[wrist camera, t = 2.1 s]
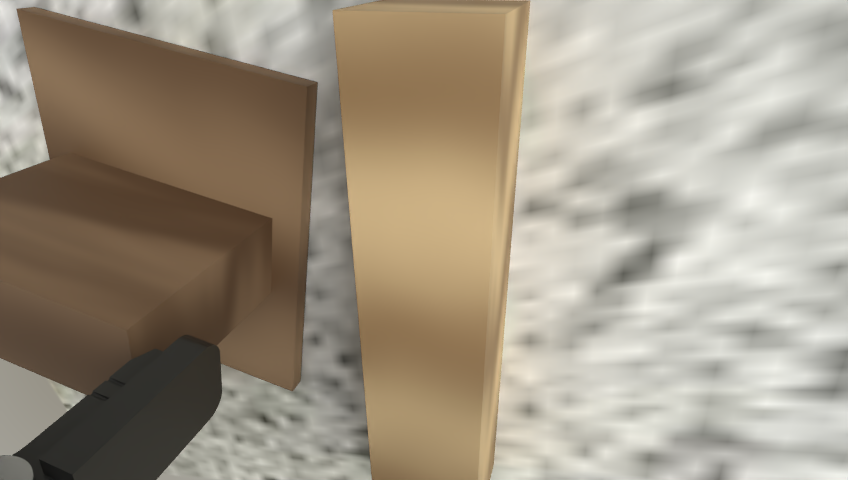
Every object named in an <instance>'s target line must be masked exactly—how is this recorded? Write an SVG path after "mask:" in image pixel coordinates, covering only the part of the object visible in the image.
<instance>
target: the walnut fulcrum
mask: <svg viewBox="0 0 848 480" xmlns="http://www.w3.org/2000/svg"><path fill="white" fill-rule="evenodd" d="M17 13H18V18H19V22H20V27H21V31H22V36H23V40H24V45H25V49H26V54H27V58H28V63H29V67H30V72H31V76H32V81H33V85H34V90H35V94H36V99H37V103H38V108H39V112H40V117H41V121H42V126H43V130H44V135H45V139H46V144H47V148H48V153H49V157H50V160H48V161H45V162H43V163H40V164H37V165H34V166H32V167H29V168H26V169H23V170H21V171H18V172H15V173H12V174H10V175H7V176H4V177H1V178H0V358H1V359H4V360H6V361H9V362H11V363H13V364H16V365H18V366H20V367H22V368H25V369H27V370H30V371H32V372H35V373H37V374H39V375H41V376H44V377H46V378H48V379H51V380H53V381H55V382H58V383H60V384H62V385H65V386H67V387H69V388H72V389H74V390H76V391H79V392H81V393H83V394H86V395H88V394H89V395H91V394H92V392H93V390H94V389H96V388H97V387H98V386H99V385H100V384H102V383H103V382H104V381H105V380H106V381H108V380H109V378H110V376H111V375H113V374H114V373H115V372H116V371H117V370H119V369H120V368H121V367H122V366H124V365H125V364H126V363H127V362H128V361H130V360H131V359H134V358H136V357H138V356H140V355H142V354H145V353H147V352H149V351H151V350H153V349H158V350H160V351H164V350H165V349H167V348H168V347H169V346H170V345H171V344H172V343H173V342H175V341H176V340H177V339H178V338H180V337H181V336H184V335H191V336H193V337H196V338H198V339H201V340H203V341H206V342H209V343H211V344H214V345H216V346H218V347H219V350H220V362H221V364H224V365H226V366H229V367H231V368H234V369H237V370H239V371H242V372H244V373H247V374H249V375H252V376H254V377H257V378H260V379H262V380H265V381H267V382H270V383H272V384H275V385H277V386H280V387H283V388H285V389H288V390H290V391H293V390H294V389H295V388H296V386H297V385H298V384H299V382H300V379H301V362H302V344H303V327H304V309H305V292H306V274H307V257H308V240H309V222H310V205H311V187H312V170H313V152H314V135H315V117H316V100H317V83H318V82H314V81H310V80H307V79H303V78H299V77H295V76H292V75H288V74H284V73H280V72H277V71H273V70H269V69H265V68H262V67H258V66H254V65H250V64H247V63H243V62H239V61H235V60H231V59H228V58H224V57H220V56H216V55H213V54H209V53H205V52H201V51H198V50H194V49H190V48H186V47H183V46H179V45H175V44H171V43H168V42H164V41H160V40H156V39H152V38H149V37H145V36H141V35H137V34H134V33H130V32H126V31H122V30H119V29H115V28H111V27H107V26H104V25H100V24H96V23H92V22H89V21H85V20H81V19H77V18H73V17H70V16H66V15H62V14H58V13H55V12H51V11H47V10H43V9H40V8H36V7H31V8H20V9H17Z"/></svg>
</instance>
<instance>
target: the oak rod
mask: <svg viewBox="0 0 848 480" xmlns="http://www.w3.org/2000/svg"><path fill="white" fill-rule="evenodd" d="M529 9H530V1H528V0H380V1H375V2H371V3H366V4H361V5H356V6H351V7H346V8H342V9H337V10H333V21H334V33H335V45H336V57H337V69H338V81H339V93H340V105H341V117H342V129H343V140H344V152H345V164H346V176H347V188H348V200H349V212H350V224H351V236H352V248H353V260H354V272H355V284H356V295H357V307H358V319H359V331H360V343H361V355H362V367H363V379H364V391H365V403H366V415H367V427H368V438H369V450H370V462H371V474H372V480H490V477H491V473H492V469H493V465H494V452H495V440H496V427H497V414H498V402H499V389H500V377H501V364H502V351H503V339H504V326H505V313H506V301H507V288H508V275H509V263H510V250H511V237H512V225H513V212H514V199H515V187H516V174H517V161H518V149H519V136H520V123H521V111H522V98H523V85H524V73H525V60H526V47H527V35H528V22H529Z"/></svg>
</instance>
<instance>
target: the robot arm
mask: <svg viewBox="0 0 848 480" xmlns="http://www.w3.org/2000/svg"><path fill="white" fill-rule="evenodd" d="M221 395H222V382H221V362H220V350H219V347H218V346H216V345H214V344H211V343H209V342H206V341H203V340H201V339H198V338H196V337H193V336H191V335H184V336H181V337H180V338H178V339H177V340H176V341H175V342H173V343H172V344H171V345H170V346H169V347H168V348H167V349H165V350H164V351H160V350H158V349H153V350H151V351H149V352H147V353H145V354H142V355H140V356H138V357H136V358H134V359H131V360H130V361H128V362H127V363H126V364H125V365H124V366H122V367H121V368H120V369H119V370H117V371H116V372H115V373H114V374H113V375H111V376H110V378H109V380H108V381H106V380H105V381H104V382H103V383H102V384H100V385H99V386H98V387H97V388H96V389H94V390H93V392H92V394H91V395H89V394H88V395H87V396H86V397H85V398H83V399H82V400H81V401H80V402H79V403H77V404H76V405H75V406H74V407H73V408H71V409H70V410H69V411H68V412H66V413H65V414H64V415H63V416H62V417H60V418H59V419H58V420H57V421H56V422H54V423H53V424H52V425H51V426H49V427H48V428H47V429H46V430H45V431H43V432H42V433H41V434H40V435H39V436H37V437H36V438H35V439H34V440H32V441H31V442H30V443H29V444H28V445H26V446H25V447H24V448H22V449H21V450H20V451H18V452H17V453H15V454H13V455H12V456H11V455H2V456H0V480H156V479H157V478H158V477H159V476H160V475H161V474H162V473H163V471H164V470H165V469H166V468H167V467H168V466H169V465H170V464H171V462H172V461H173V460H174V459H175V458H176V457H177V456H178V455H179V453H180V452H181V451H182V450H183V449H184V448H185V447H186V446H187V444H188V443H189V442H190V441H191V440H192V439H193V438H194V436H195V435H196V434H197V433H198V432H199V431H200V430H201V429H202V427H203V426H204V425H205V424H206V423H207V422H208V421H209V420H210V418H211V417H212V416H213V414H214V413H215V411H216V409H217V407H218V405H219V402H220V399H221Z"/></svg>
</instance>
